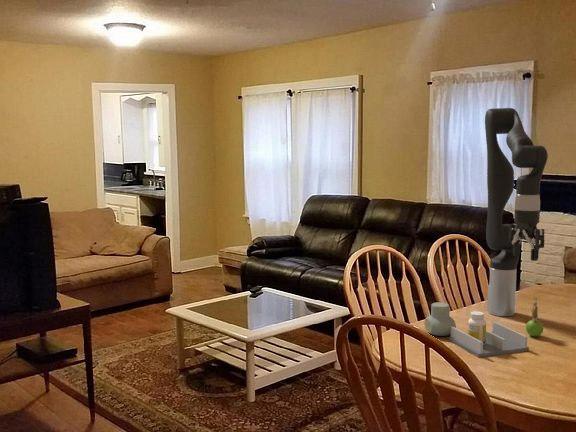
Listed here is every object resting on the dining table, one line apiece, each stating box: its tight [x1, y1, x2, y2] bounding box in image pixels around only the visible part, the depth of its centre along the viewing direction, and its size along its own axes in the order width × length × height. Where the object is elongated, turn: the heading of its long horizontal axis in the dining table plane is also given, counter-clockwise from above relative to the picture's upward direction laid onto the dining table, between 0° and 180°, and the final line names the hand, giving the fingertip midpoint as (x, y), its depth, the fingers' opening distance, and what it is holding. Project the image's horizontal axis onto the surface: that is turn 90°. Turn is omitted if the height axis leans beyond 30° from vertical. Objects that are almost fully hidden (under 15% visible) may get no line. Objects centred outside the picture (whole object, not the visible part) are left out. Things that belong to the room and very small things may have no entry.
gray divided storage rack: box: [448, 321, 530, 358], centre depth 190 cm, size 16×18×4 cm
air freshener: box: [423, 301, 457, 337], centre depth 202 cm, size 11×8×10 cm
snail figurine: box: [525, 297, 544, 337], centre depth 199 cm, size 5×6×12 cm
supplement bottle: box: [467, 310, 487, 345], centre depth 189 cm, size 5×5×10 cm
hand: (525, 258), depth 196 cm, fingers open, 8 cm apart
